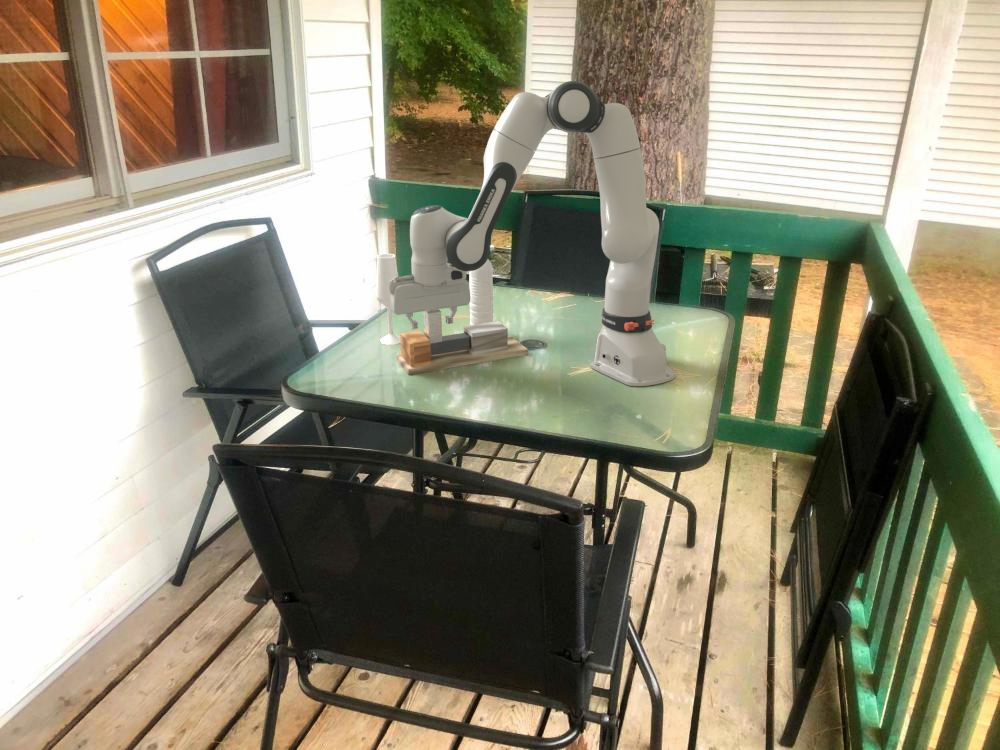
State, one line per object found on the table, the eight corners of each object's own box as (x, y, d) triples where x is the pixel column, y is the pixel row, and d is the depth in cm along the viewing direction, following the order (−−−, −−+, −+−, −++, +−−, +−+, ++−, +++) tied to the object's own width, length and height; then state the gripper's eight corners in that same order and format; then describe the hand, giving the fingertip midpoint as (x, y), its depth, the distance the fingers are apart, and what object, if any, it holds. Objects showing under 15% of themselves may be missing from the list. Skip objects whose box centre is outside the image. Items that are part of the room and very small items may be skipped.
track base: (527, 354, 204) (528, 327, 201) (408, 374, 192) (407, 346, 189) (511, 342, 212) (512, 315, 209) (396, 360, 200) (395, 333, 197)
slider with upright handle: (495, 345, 202) (495, 304, 198) (415, 358, 194) (413, 315, 190) (489, 340, 206) (489, 299, 201) (410, 353, 198) (408, 310, 193)
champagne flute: (387, 346, 209) (382, 260, 200) (374, 340, 214) (368, 255, 205) (408, 340, 214) (403, 256, 204) (394, 334, 218) (389, 251, 209)
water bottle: (484, 342, 212) (483, 253, 202) (465, 337, 216) (463, 250, 206) (502, 333, 219) (502, 246, 209) (483, 328, 222) (482, 243, 212)
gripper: (392, 281, 183) (395, 335, 188) (472, 271, 191) (473, 324, 196) (385, 274, 188) (388, 327, 194) (463, 265, 196) (464, 316, 201)
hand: (431, 325), depth 195 cm, fingers open, 8 cm apart
